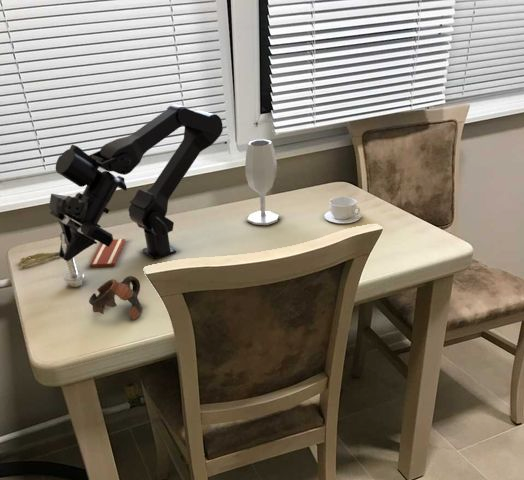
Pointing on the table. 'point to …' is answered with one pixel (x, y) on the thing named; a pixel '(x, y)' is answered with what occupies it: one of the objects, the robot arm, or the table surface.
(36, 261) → the tongs
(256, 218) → the wineglass
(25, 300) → the table surface
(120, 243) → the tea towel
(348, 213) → the teacup
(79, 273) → the screw
